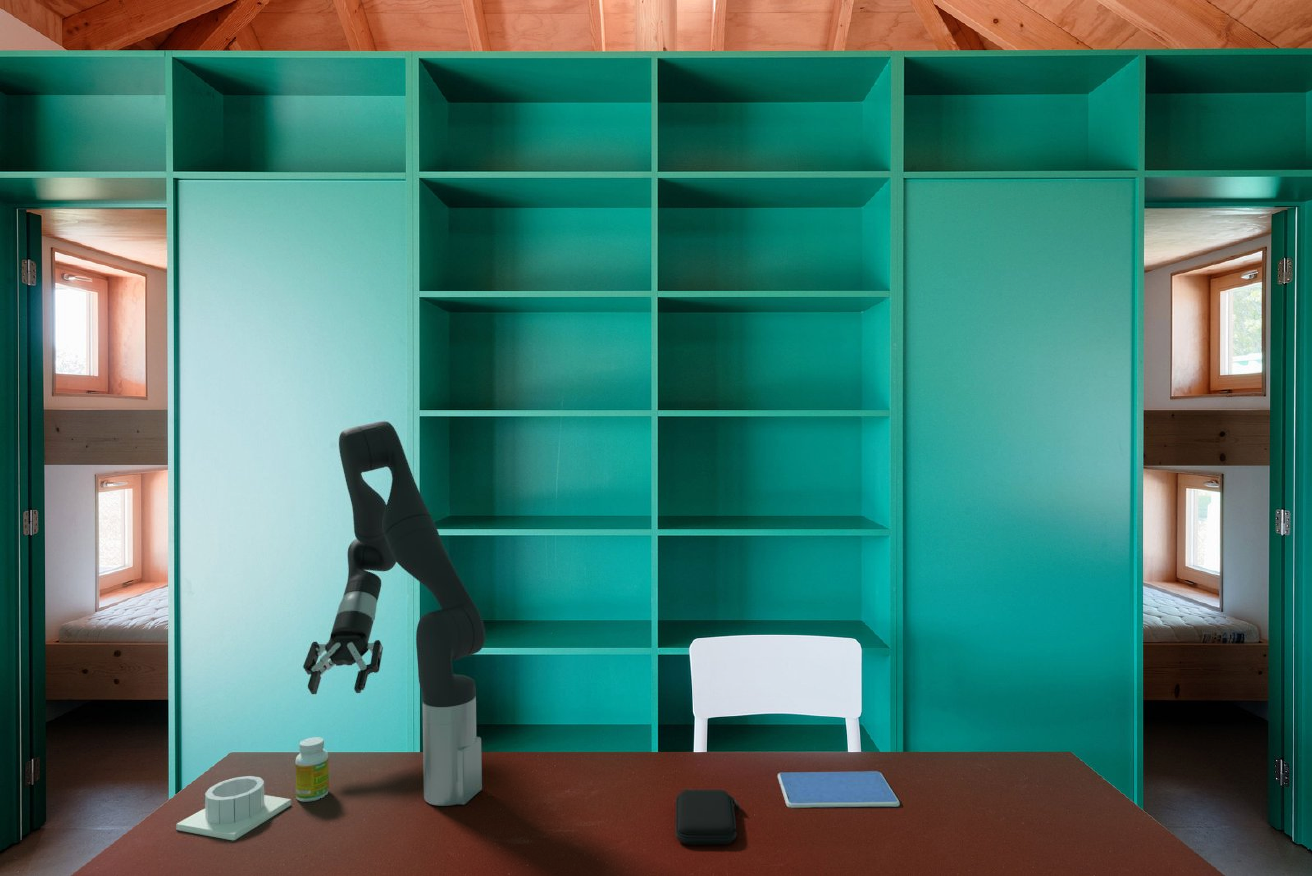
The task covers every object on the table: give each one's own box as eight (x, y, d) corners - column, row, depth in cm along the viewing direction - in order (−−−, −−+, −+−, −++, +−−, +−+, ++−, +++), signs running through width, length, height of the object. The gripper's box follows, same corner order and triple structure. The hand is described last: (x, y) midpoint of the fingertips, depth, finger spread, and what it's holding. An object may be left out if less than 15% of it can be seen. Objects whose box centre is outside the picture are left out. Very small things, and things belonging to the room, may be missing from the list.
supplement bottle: (316, 803, 132) (315, 748, 132) (289, 801, 133) (288, 746, 133) (335, 789, 137) (334, 736, 137) (309, 787, 138) (308, 734, 138)
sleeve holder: (291, 805, 131) (290, 776, 131) (233, 840, 120) (233, 809, 120) (237, 796, 135) (236, 768, 135) (176, 829, 123) (176, 799, 123)
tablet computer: (787, 811, 128) (787, 803, 128) (776, 777, 140) (776, 770, 140) (901, 810, 128) (901, 802, 128) (880, 777, 140) (880, 769, 140)
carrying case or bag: (744, 850, 116) (737, 803, 130) (744, 830, 116) (737, 785, 130) (675, 849, 116) (676, 803, 131) (675, 830, 116) (676, 785, 131)
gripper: (315, 610, 154) (291, 684, 143) (385, 608, 155) (367, 681, 144) (325, 629, 160) (303, 702, 148) (393, 627, 160) (376, 699, 149)
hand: (335, 692), depth 146 cm, fingers open, 8 cm apart
